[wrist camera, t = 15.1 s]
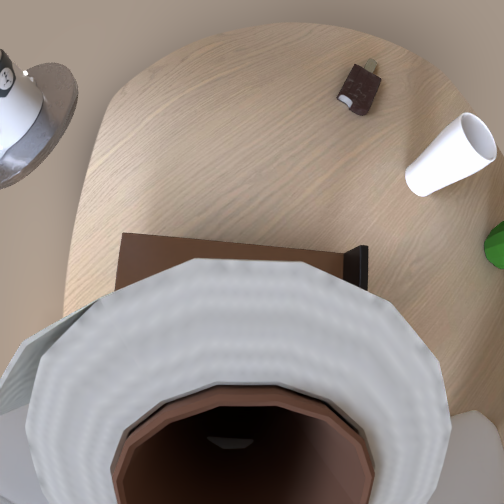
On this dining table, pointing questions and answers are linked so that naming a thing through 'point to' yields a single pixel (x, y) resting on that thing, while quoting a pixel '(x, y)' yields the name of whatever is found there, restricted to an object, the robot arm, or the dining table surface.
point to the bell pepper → (495, 246)
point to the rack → (227, 257)
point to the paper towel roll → (232, 393)
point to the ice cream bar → (360, 88)
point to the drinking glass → (452, 155)
